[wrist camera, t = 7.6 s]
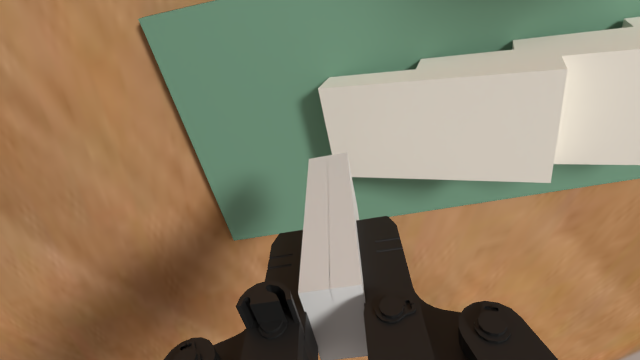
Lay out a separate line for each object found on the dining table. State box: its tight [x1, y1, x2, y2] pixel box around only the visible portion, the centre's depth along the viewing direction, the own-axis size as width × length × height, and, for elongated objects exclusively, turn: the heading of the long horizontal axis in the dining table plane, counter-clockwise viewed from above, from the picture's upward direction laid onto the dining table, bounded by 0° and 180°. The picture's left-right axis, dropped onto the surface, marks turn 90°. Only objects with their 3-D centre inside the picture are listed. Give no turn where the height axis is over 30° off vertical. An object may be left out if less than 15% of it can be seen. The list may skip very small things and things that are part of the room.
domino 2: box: [416, 37, 640, 165], centre depth 17 cm, size 2×5×10 cm
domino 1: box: [318, 56, 568, 183], centre depth 17 cm, size 2×5×10 cm
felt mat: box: [139, 0, 640, 241], centre depth 19 cm, size 34×14×1 cm, turn 102°
